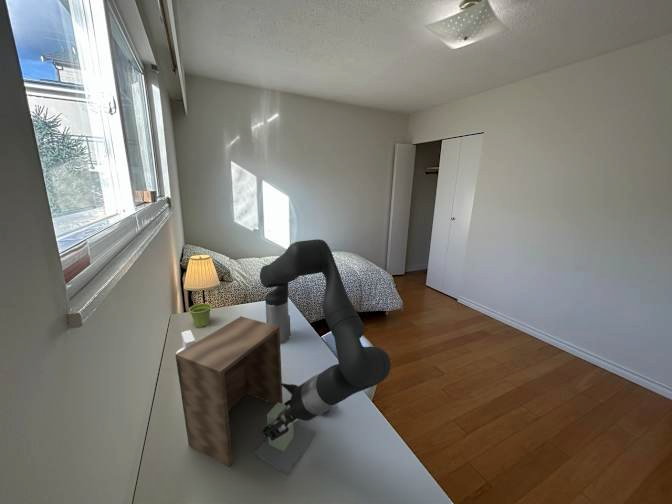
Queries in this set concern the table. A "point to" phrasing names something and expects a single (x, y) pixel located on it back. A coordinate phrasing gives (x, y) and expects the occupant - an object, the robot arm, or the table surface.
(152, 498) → the table surface
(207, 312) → the plant pot
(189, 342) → the cylinder with rectangular tab
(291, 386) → the microphone
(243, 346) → the walnut cubby
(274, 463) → the slate mat
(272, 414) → the sage block
